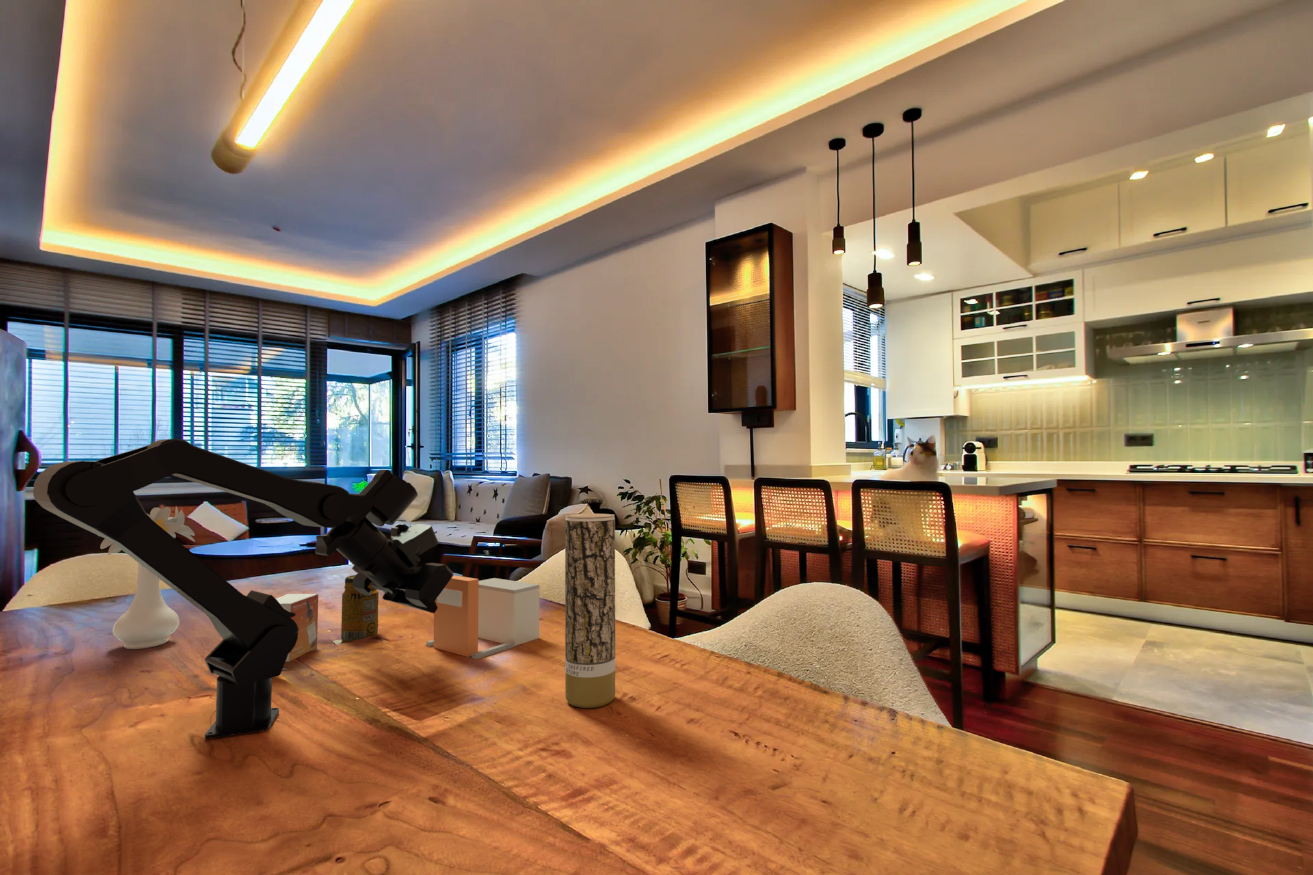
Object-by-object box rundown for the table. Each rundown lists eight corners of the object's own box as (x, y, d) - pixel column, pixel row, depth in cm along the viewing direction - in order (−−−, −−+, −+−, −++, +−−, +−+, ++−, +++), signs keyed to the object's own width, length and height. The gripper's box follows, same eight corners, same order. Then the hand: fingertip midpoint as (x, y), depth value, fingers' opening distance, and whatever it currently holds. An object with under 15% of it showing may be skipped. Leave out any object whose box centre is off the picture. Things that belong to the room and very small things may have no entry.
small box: (289, 671, 96) (290, 603, 96) (253, 671, 96) (255, 603, 96) (318, 655, 104) (319, 592, 104) (285, 655, 104) (287, 593, 104)
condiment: (374, 634, 116) (375, 571, 117) (387, 644, 110) (388, 577, 110) (332, 642, 112) (333, 576, 112) (343, 652, 105) (344, 582, 106)
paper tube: (607, 711, 79) (607, 517, 80) (557, 707, 80) (558, 517, 82) (621, 692, 86) (620, 513, 87) (574, 689, 87) (574, 513, 88)
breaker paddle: (465, 657, 97) (465, 581, 98) (430, 648, 102) (431, 575, 103) (478, 653, 99) (478, 579, 100) (443, 644, 104) (444, 573, 105)
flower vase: (147, 631, 120) (151, 503, 121) (213, 639, 114) (217, 504, 115) (65, 650, 108) (70, 507, 109) (134, 660, 102) (139, 509, 103)
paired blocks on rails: (448, 679, 92) (448, 606, 92) (394, 662, 100) (395, 595, 100) (544, 646, 108) (544, 584, 108) (492, 634, 116) (492, 577, 116)
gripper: (442, 510, 89) (501, 574, 98) (371, 506, 100) (430, 564, 108) (391, 573, 82) (460, 636, 91) (321, 561, 93) (389, 619, 102)
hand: (434, 610), depth 98 cm, fingers closed
